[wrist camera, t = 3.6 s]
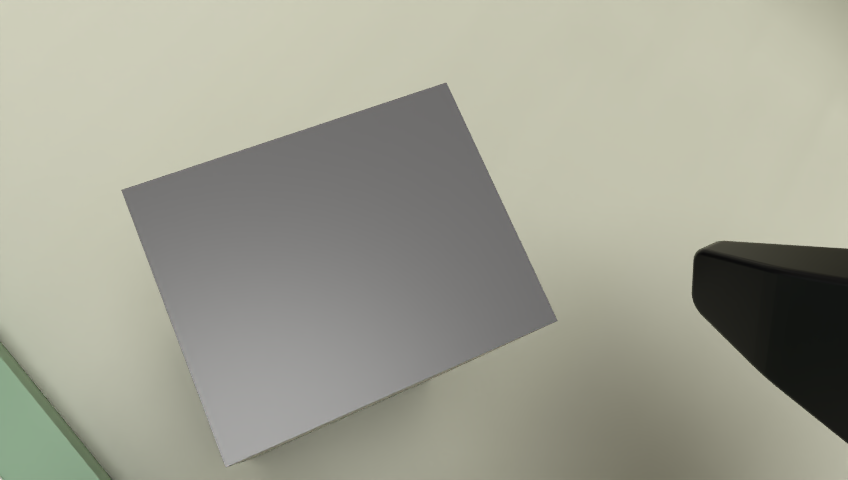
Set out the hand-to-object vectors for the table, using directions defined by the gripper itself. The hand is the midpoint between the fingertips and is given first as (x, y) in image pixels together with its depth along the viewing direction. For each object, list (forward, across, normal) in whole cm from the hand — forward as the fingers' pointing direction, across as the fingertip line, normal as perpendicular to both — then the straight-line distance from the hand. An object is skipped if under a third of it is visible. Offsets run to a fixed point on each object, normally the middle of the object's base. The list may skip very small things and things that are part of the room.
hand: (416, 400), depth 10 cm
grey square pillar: (+9, 0, -6) cm, 11 cm away
